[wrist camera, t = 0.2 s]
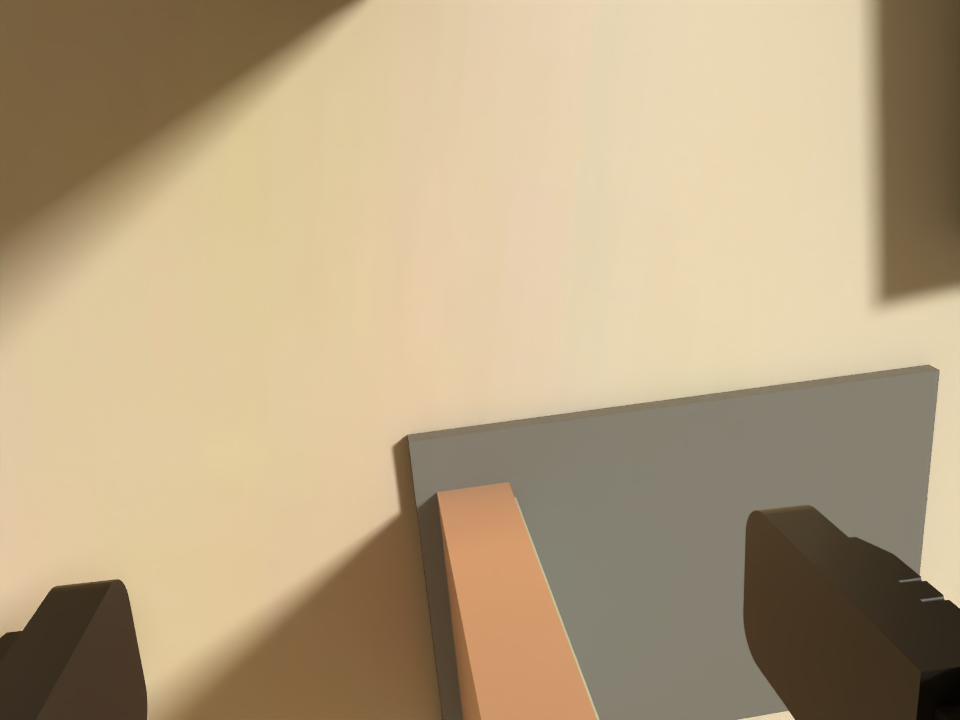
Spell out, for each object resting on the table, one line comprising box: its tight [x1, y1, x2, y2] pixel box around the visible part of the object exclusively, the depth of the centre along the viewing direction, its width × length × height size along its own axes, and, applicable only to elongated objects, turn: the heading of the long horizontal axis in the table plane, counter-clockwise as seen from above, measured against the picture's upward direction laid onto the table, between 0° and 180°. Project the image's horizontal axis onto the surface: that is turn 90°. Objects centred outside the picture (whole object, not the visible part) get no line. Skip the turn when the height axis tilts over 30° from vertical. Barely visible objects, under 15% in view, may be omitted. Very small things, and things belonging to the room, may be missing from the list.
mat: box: [408, 365, 940, 720], centre depth 32 cm, size 14×19×1 cm
